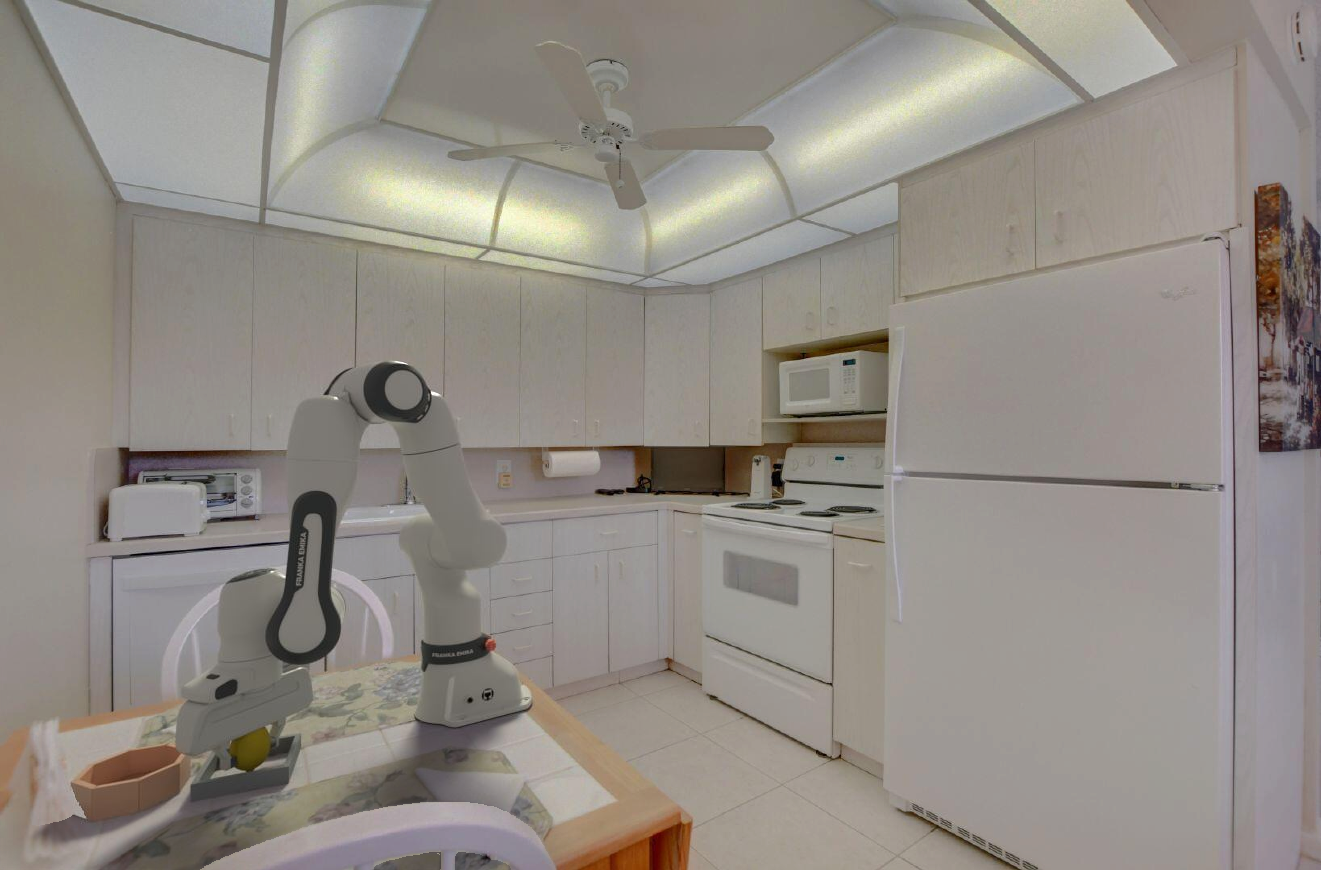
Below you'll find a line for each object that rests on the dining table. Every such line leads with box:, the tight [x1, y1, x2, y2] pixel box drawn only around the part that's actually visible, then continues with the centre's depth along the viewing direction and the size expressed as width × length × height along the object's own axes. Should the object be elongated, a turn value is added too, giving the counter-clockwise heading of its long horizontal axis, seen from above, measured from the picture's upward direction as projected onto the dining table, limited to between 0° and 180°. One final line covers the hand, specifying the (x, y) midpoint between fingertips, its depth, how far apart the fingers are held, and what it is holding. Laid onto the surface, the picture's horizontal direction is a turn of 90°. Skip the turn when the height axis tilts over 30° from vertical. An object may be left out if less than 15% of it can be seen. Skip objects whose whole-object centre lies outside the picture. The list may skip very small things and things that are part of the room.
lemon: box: [229, 726, 271, 772], centre depth 99 cm, size 6×6×8 cm
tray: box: [189, 732, 302, 803], centre depth 99 cm, size 13×13×2 cm
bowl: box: [70, 742, 192, 822], centre depth 93 cm, size 13×13×4 cm
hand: (250, 757), depth 99 cm, fingers closed on lemon, 5 cm apart
